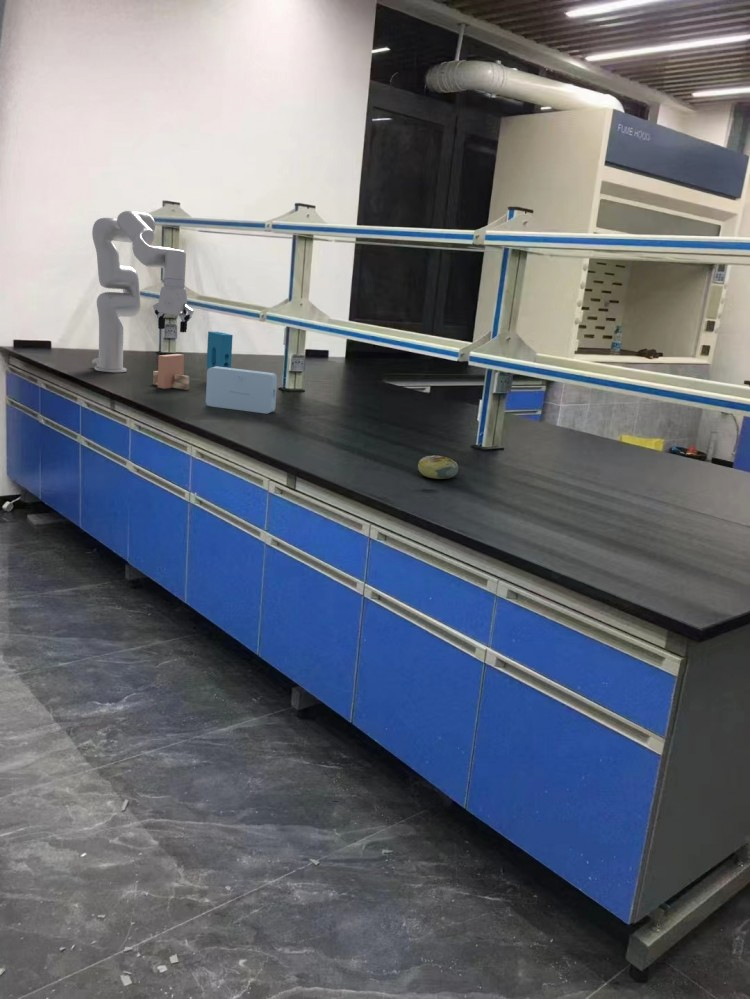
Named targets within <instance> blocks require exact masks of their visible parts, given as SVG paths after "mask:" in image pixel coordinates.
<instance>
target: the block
mask: <svg viewBox="0 0 750 999" xmlns="http://www.w3.org/2000/svg"><path fill="white" fill-rule="evenodd" d="M232 352H233V334H230V333H225V332H220V331H211V330H209V331H208V332H207V349H206V371H207V370H208V369H209V368H212V367H216V366H218V367H227V368H232Z"/></svg>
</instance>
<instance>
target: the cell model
mask: <svg viewBox="0 0 750 999" xmlns="http://www.w3.org/2000/svg"><path fill="white" fill-rule="evenodd" d="M417 469H418V471H419V474H421V475H423V476H424V477H426V478H430V479H437V480H444V479H451V478H452V477H455V476H456V475H457V473H458V471H459V464H458V463H457V461H455V460H453V459H452V458H450V457H447V456H442V455H426V456H424V457H421V459H419V461H418V464H417Z"/></svg>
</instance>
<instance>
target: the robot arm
mask: <svg viewBox="0 0 750 999" xmlns="http://www.w3.org/2000/svg"><path fill="white" fill-rule="evenodd" d="M155 230H156V221H155V219H154V218H153V216H152V215H151V214H149V213H147V212H141V211H132V210H125V211H122V212H120V213H119V214H118V215H117V218H114V217H101V218H98V219H96V221H94V223H93V225H92V233H91V234H92V240H93V244H94V248H95V251H96V263H97V273H98V274H97V275H98V281H99V284H100V286H101V287H103V288H105V289H108V290H110V289H111V290H122V292H115V291H105V292H102V293H100V294H99V295H98V296H97V299H96V308H97V314H98V315H97V316H98V357H97V358H93V359H92V360H91V363H92V364H96V365H95V366H94V370H95V371H97V372H102V373H103V372H105V373H125V372H127V370H128V369H127V368H126V367H124V326H123V324H122V321H121V320H120V318H119V317H124V318H125V317H126V318H127V317H128V318H129V317H131V318H132V317H136V316H138V314H140V311H141V296H140V295H141V294H140V282H139V280H140V278H139V275H138V273H137V271H136V269H135V268H134V267H132V266H129V265H122V264H120V254H119V252H118V249H117V248H116V247H117V246H115V245H114V243H113V242H123V243H132V244H131V247H132V252H133V255H134V257H135V258H136V259H137V260H138V261H139V262H140V263H141V264H142V265H143V266H146V267H148V268H159V269H164V273H163V279H161V284H163V285H162V286H161V287H160V288H161V289H160V291H159V296H158V297H159V298H158V302H156V303H155V304H153V305H152V307H153V310H154V313H155V315H156V317H157V319H158V320H157V322H158V323H157V325H158V327H157V328H158V329H159V330H165V328H166V318H165V316H166V315H170V316H176V317H179V318H180V320H181V321H180V324H179V325H180V326H179V332H180V333H187V329H188V322H189V321H190V320H191V318H192V316H193V314H194V310H193V308H191V307H190V306H189V305H188V294H187V288H185V284H186V283H185V282H186V266H187V265H186V261H187V254H186V252H185V251H184V250H182V249H175V248H171V247H165V246H157V245H155V246H154V245H152V243H153V242H154V240H155V233H154V232H155ZM112 241H113V242H112Z"/></svg>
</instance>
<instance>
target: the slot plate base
mask: <svg viewBox="0 0 750 999" xmlns="http://www.w3.org/2000/svg"><path fill="white" fill-rule="evenodd" d="M152 377H153V378H152V381H153V382H152V385H155V386H158V370H153V376H152ZM171 388H174V389H180V390H186V391H187V390H189V389H190V375H185V374H184V375H179V374H176V375H175V381H172V383H171Z"/></svg>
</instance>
